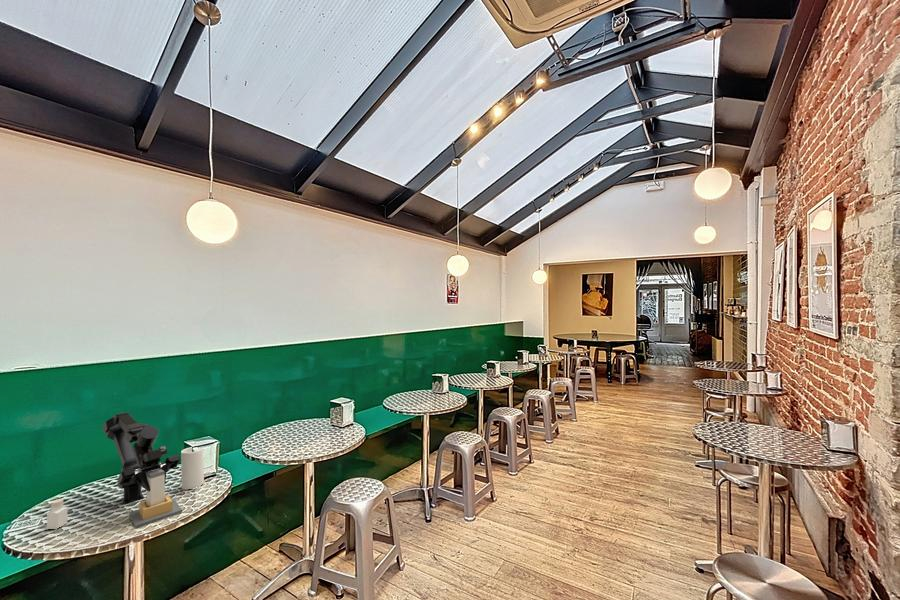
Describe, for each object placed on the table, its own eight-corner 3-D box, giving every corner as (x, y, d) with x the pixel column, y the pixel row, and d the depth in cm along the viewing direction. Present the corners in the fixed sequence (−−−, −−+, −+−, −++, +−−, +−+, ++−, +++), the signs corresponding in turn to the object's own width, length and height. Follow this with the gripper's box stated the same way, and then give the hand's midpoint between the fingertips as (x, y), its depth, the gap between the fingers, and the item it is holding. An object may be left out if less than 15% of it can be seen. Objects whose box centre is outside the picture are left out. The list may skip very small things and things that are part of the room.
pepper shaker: (68, 523, 142) (68, 497, 142) (57, 530, 138) (57, 503, 138) (57, 524, 142) (56, 498, 142) (46, 530, 138) (45, 503, 138)
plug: (146, 505, 146) (146, 472, 147) (160, 500, 150) (159, 468, 150) (151, 508, 144) (150, 475, 144) (164, 503, 148) (164, 470, 148)
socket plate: (129, 514, 147) (129, 503, 147) (173, 500, 157) (173, 489, 157) (135, 528, 137) (135, 515, 137) (182, 512, 147) (182, 500, 147)
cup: (208, 482, 173) (207, 446, 173) (190, 491, 165) (190, 453, 165) (195, 480, 175) (194, 445, 176) (177, 488, 168) (176, 451, 168)
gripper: (120, 449, 142) (132, 486, 136) (178, 434, 158) (191, 467, 151) (113, 466, 146) (124, 503, 140) (169, 450, 162) (182, 483, 155)
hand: (157, 488), depth 146 cm, fingers closed on plug, 4 cm apart
